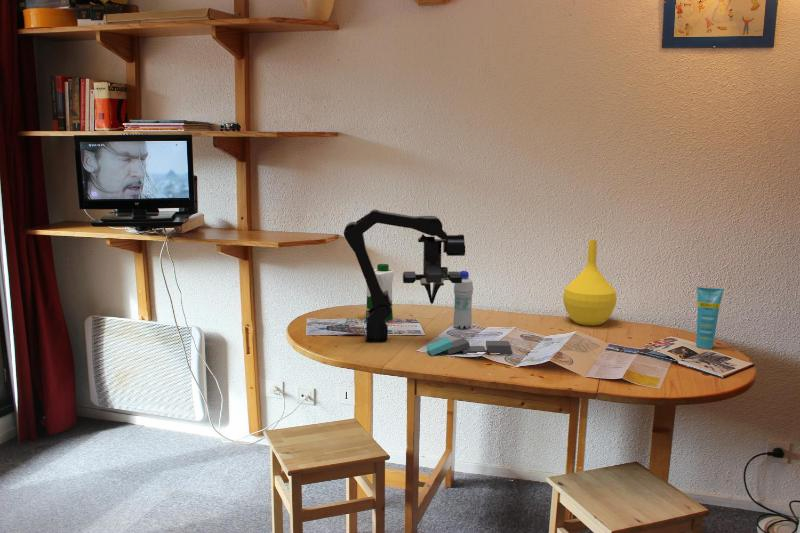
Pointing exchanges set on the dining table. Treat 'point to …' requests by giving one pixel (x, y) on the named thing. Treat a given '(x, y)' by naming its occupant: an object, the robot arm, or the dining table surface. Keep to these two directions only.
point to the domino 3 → (474, 349)
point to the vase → (589, 294)
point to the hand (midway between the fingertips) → (431, 303)
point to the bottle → (463, 301)
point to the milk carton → (382, 285)
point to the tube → (707, 315)
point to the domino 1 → (439, 346)
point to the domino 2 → (458, 346)
